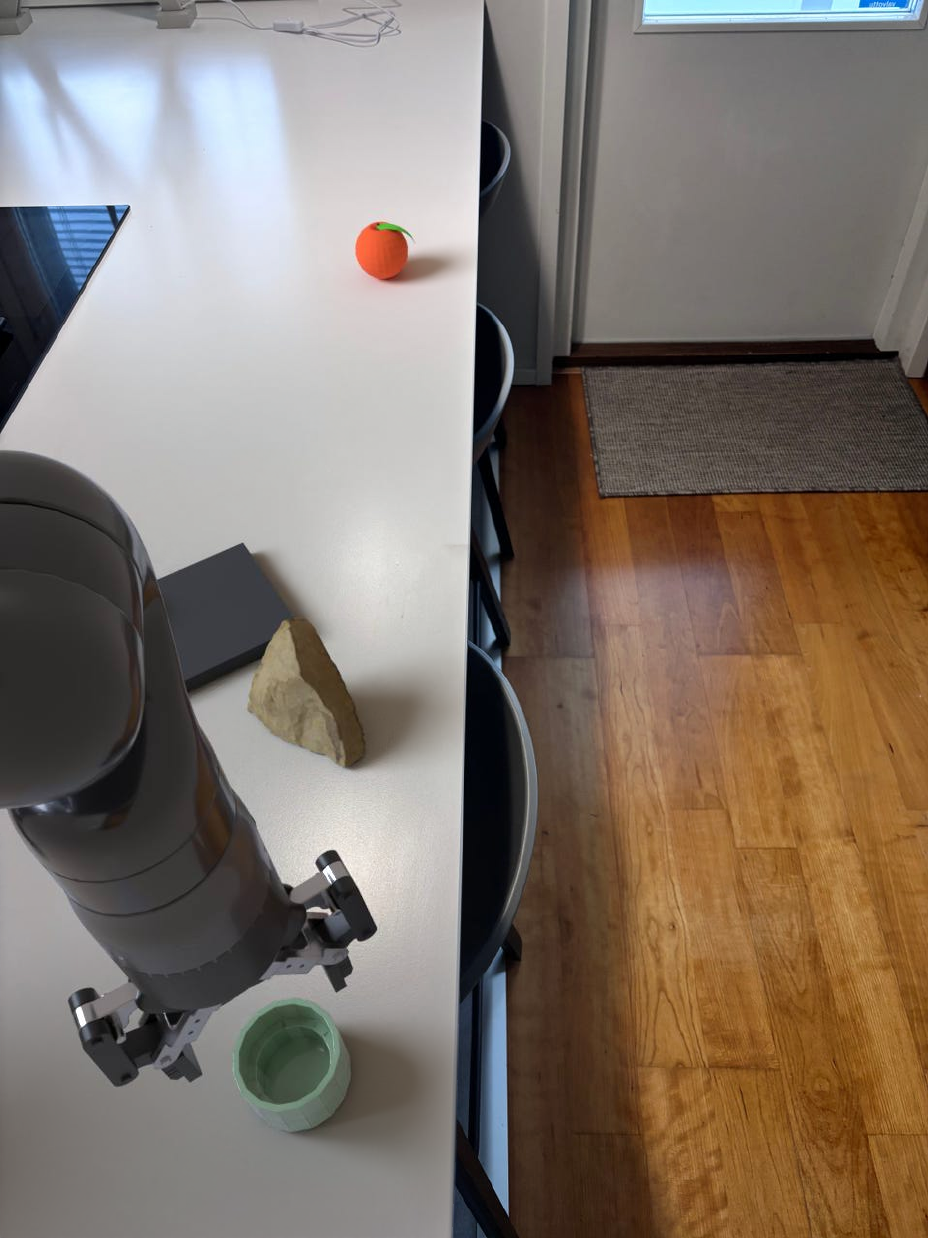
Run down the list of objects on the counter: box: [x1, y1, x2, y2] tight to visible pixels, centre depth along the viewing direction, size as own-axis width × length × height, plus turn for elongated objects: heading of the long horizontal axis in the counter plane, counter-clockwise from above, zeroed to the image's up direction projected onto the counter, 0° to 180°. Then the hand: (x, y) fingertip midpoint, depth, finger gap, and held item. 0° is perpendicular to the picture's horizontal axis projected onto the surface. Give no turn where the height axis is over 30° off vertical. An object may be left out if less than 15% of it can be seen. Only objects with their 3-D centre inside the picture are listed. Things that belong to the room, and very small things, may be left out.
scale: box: [157, 542, 295, 694], centre depth 85 cm, size 16×13×3 cm
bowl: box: [232, 997, 352, 1133], centre depth 58 cm, size 6×6×5 cm
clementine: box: [354, 221, 416, 280], centre depth 124 cm, size 8×7×7 cm
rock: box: [246, 617, 367, 769], centre depth 76 cm, size 11×9×10 cm
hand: (264, 1017), depth 52 cm, fingers open, 8 cm apart
